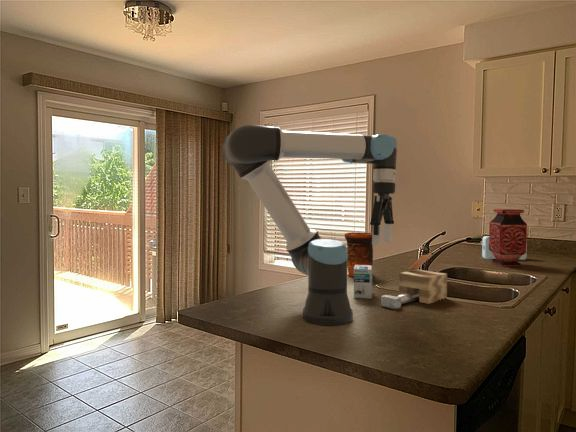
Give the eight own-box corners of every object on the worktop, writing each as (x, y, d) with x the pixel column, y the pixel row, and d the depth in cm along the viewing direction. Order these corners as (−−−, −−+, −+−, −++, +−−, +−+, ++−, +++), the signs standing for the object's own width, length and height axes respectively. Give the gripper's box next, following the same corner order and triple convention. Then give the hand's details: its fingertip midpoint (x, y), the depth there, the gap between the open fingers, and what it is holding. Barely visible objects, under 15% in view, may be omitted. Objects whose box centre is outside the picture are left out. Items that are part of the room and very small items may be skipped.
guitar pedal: (521, 258, 255) (522, 236, 254) (526, 259, 249) (526, 237, 249) (481, 258, 257) (481, 236, 256) (485, 259, 251) (485, 236, 250)
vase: (499, 267, 223) (500, 209, 222) (488, 263, 237) (489, 208, 236) (526, 267, 223) (527, 209, 222) (513, 263, 237) (514, 208, 235)
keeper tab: (407, 271, 158) (406, 269, 159) (417, 269, 162) (416, 268, 163) (422, 256, 153) (421, 255, 154) (432, 255, 157) (431, 253, 158)
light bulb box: (372, 299, 154) (372, 269, 153) (353, 298, 155) (353, 268, 155) (372, 292, 164) (372, 264, 164) (354, 291, 166) (354, 264, 165)
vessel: (337, 274, 201) (338, 232, 201) (356, 272, 211) (357, 231, 210) (361, 279, 191) (362, 234, 190) (380, 276, 200) (381, 233, 200)
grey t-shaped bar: (395, 309, 140) (395, 299, 140) (381, 305, 144) (381, 296, 144) (424, 301, 151) (424, 291, 150) (410, 298, 155) (410, 288, 155)
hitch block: (428, 303, 147) (428, 277, 146) (399, 297, 156) (399, 273, 155) (446, 298, 154) (447, 273, 154) (417, 292, 164) (418, 269, 163)
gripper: (385, 179, 134) (382, 247, 135) (403, 183, 156) (400, 241, 157) (362, 179, 138) (360, 245, 138) (382, 183, 160) (380, 240, 161)
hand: (381, 243), depth 148 cm, fingers open, 13 cm apart
